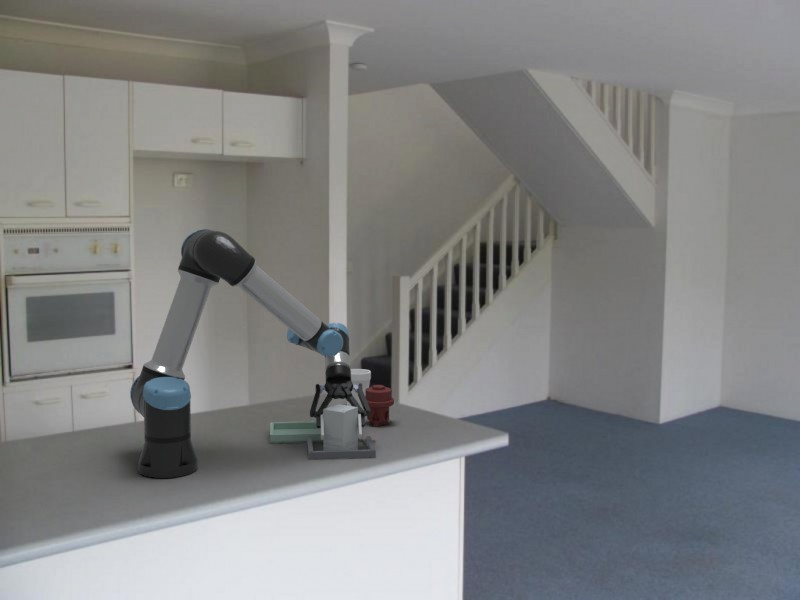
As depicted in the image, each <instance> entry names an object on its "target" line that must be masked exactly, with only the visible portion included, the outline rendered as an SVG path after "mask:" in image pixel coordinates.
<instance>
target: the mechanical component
mask: <svg viewBox="0 0 800 600" xmlns="http://www.w3.org/2000/svg"><path fill="white" fill-rule="evenodd" d="M392 392H393V391H392V389H391V388H390V387H386V386H385V385H383V384H373V385H372V386H369V388H367V389H365V397H366V400H367V402H368V405H369V407H370V410H371V411H370V415H369V416H366V418H367V420H368V421H369V423H371V424H373V426H374V427H376V426H377V427H379V426H382V425H387V424H389V420H390V407H392V406H393V405H394V404H395V399H394V398H393V397H392V395H393V394H392ZM381 424H382V425H381Z"/></svg>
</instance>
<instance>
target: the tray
mask: <svg viewBox="0 0 800 600" xmlns="http://www.w3.org/2000/svg"><path fill="white" fill-rule="evenodd" d="M269 424H270V425H269V444H270V445H271V444H272V445H273V444H277V445H278V444H279V445H280V444H305V443H306V444H307V438H312V444H313V443H314V444H315V443H317V442H318V443H323V440H321V428H317V426H316V420H315V421H285V422H284V421H274V422H270V423H269ZM318 443H317V444H318Z"/></svg>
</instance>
